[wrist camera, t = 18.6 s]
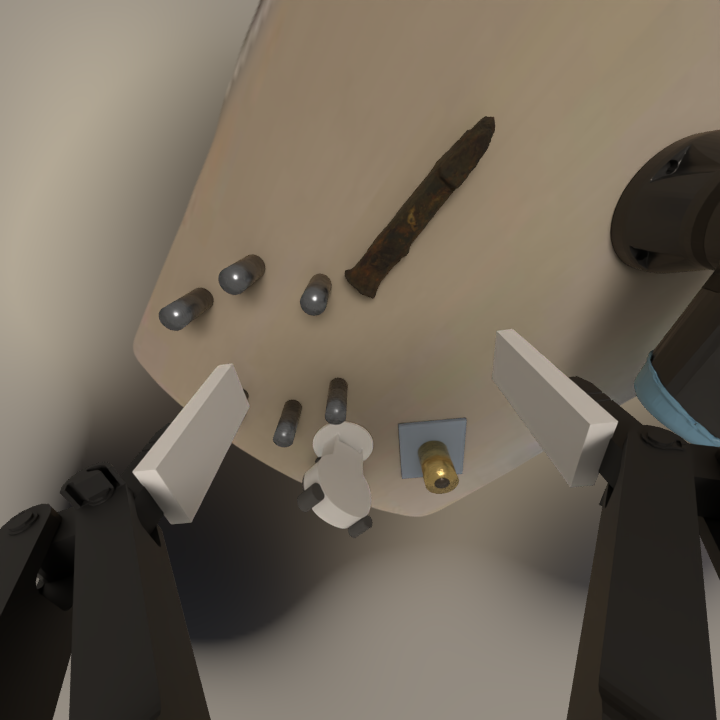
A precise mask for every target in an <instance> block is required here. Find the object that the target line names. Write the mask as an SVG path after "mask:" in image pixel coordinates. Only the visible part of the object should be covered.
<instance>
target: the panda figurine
mask: <svg viewBox="0 0 720 720" xmlns="http://www.w3.org/2000/svg"><path fill="white" fill-rule="evenodd" d="M313 449H314V451H315V453H316V455H317V456H318V458H317V459H316V461H315V462H316V464H314V465H313V466H312V467H311V468H310V469H309V470H308V471H307V472H306V473H305V475H304V477H303V482H302V484H303V491H304V492H303V493H301V494H300V495H299V496H298V498H297V499H298V500H297V502H298V506H299V508H300V509H301V510H302V511H303V512H308V511H309V510H310V509H313V511H314V512H315V513H316V514H317V515H318V516H319V517H320V518H321V519H323V520H324V521H326V522H327V523H329V524H331V525H333V526H336V527H339V528H348V532H349V535H350V536H351V537H353V538H356V537H357V536H359V535H360V534H362V533H363V532H365V531H366V530H368V529H369V528H370V527H372V519H371V517H369V516H366V515H367V514H368V513H369V510H370V507H371V491H370V488H369V485H368V483H367V481H366V479H365V477H364V476H363V461H365V460H366V459H367V458H368V457H369V456H370V454H371V453H372V450H373V439H372V437H371V435H370V433H369V432H368V431H367V430H366V429H365V428H364V427H362V426H360V425H358V424H356V423H352V422H347V421H344V422H343V423H342V424H339V425H333V424H330V423H329V424H327V425H325V426H323V427H322V428H320V429H319V430H318V431H317V433H316V434H315V436H314V439H313Z"/></svg>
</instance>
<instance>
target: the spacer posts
mask: <svg viewBox="0 0 720 720" xmlns="http://www.w3.org/2000/svg"><path fill="white" fill-rule="evenodd" d="M264 272H265V264H264V262H263V260H262V259H261V258H260V257H259V256H257V255H248V256H246V257H244V258H243V259H241V260H239V261H237V262H236V263H234V264H232V265H230V266H229V267H227V268H225V269H223V270H222V271H221V272H220V274H219V284H220V286H221V287H222V289H223V290H224V291H226V292H227V293H229V294H232V295H238V294H240V293H242V292H243V291H244V290H246V289H247V288H248V287H249V286H250V285H251V284H252V283H254V282H255V281H256V280H257V279H258V278H259V277H261V276H262V275H263V274H264ZM331 286H332V284H331V281H330V279H329V278H328V277H327V276H326V275H324V274H316V275H314V276H313V277H312V279H311V280H310V282H309V284H308V286H307V288H306V289H305V291H304V293H303V295H302V297H301V300H300V305H301V308H302V309H303V311H304V312H305V313H307V314H309V315H313V316H315V315H319V314H321V313H322V312H323V311H324V310H325V308H326V305H327V301H328V297H329V294H330V290H331ZM213 301H214V300H213V296H212V294H211V293H210V292H209V291H208V290H206V289H204V288H196V289H194V290H193V291H191V292H189V293H188V294H186V295H184V296H183V297H181V298H179V299H178V300H176V301H174V302H172V303H171V304H169V305H167V306H166V307H164V308H162V309H161V310H160V312H159V319H160V321H161V323H162V324H163V325H164V326H165V327H166V328H168V329H170V330H174V331H178V330H181V329H182V328H184V327H185V326H186V325H188V324H189V323H190V322H191V321H193V320H194V319H195V318H197V317H198V316H199V315H201V314H202V313H203V312H204V311H206V310H207V309H208V308H210V307H211V306H212V305H213ZM347 388H348V384H347V382H346V381H345V380H344V379H342V378H335V379H333V380H332V381H331V382H330V386H329V392H328V399H327V406H326V413H325V419H326V421H327V422H328V423H330V424H333V425H339V424H342V423H343V422H344V421H345V419H346V406H347ZM243 391H244V393H245V396H246V398H247V399H248V393H247V392H246V391H245V390H244V389H243ZM301 410H302V405H301V404H300V402H298V401H296V400H289V401H287V402H286V403H285V405H284V408H283V411H282V414H281V417H280V420H279V422H278V425H277V428H276V431H275V434H274V437H273V441H274V443H275V444H276V445H278V446H280V447H288V446H290V445H292V443H293V440H294V436H295V433H296V429H297V425H298V421H299V417H300V413H301Z"/></svg>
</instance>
